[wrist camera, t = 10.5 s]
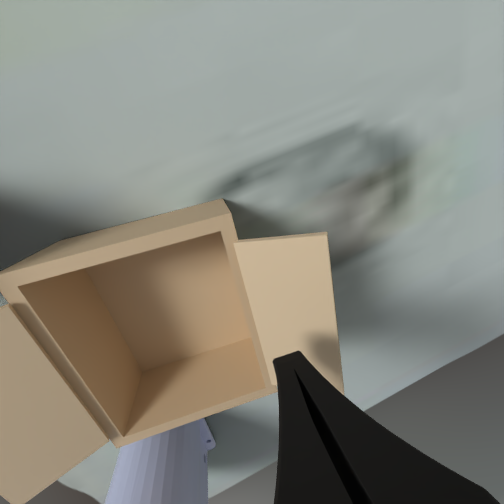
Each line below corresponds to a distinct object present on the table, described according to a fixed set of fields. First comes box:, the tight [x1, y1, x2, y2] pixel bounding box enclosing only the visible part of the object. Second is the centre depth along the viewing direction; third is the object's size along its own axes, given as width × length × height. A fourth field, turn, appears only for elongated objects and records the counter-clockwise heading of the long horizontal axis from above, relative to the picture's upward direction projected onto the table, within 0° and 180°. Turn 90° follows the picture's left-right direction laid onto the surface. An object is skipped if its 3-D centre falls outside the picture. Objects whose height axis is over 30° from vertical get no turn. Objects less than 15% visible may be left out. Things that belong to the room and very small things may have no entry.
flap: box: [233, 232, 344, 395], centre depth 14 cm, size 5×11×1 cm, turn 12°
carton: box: [0, 199, 278, 448], centre depth 17 cm, size 14×12×6 cm
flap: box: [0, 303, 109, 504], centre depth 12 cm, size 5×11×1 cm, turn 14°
